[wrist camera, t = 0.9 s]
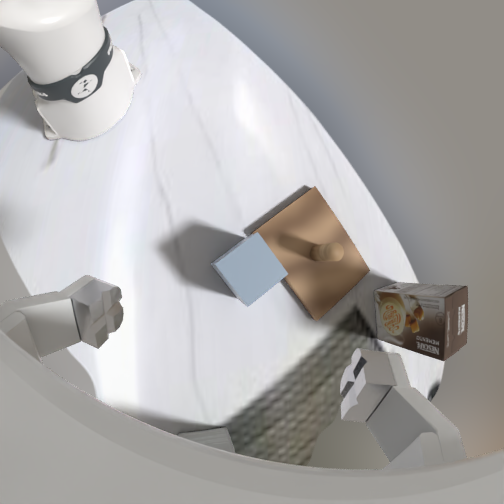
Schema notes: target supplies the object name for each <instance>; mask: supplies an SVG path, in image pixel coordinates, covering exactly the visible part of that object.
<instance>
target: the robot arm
mask: <svg viewBox="0 0 504 504" xmlns="http://www.w3.org/2000/svg"><path fill="white" fill-rule="evenodd" d="M0 47H1V48H3V49H4V50H6V51H7V52H8V53H9V54H10V55H11V56H12V57H13V58H14V59H15V60H16V62H17V63H18V64H19V65H20V66H21V67H22V69H23V70H24V71H25V73H26V74H27V78H28V82H29V83H30V85H31V87H32V89H33V90H32V93H33V96H34V98H35V99H36V100H35V105H36V107H37V110H38V112H39V113H40V115H41V116H42V117H43V124H44V131H45V136H46V137H47V139H49V140H55V139H60V138H66V139H69V140H74V141H83V140H88V139H92V138H95V137H97V136H99V135H101V134H103V133H105V132H106V131H108V130H109V129H111V128H112V127H113V126H114V125H115V124H117V123H118V122H119V121H120V119H121V118H122V117H123V116H124V115H125V113H126V112H127V110H128V108H129V106H130V104H131V101H132V97H133V91H134V88H135V86H136V84H137V83H138V82H139V80H140V78H141V75H142V74H141V72H140V70H139V69H138V68H136V67H135V66H134V65H132V64H131V63H129V62H128V61H127V58H126V55H125V52H124V51H123V50H120V49H119V48H117V47H116V46H114V45H112V40H111V37H110V34H109V33H108V31H107V29H106V28H105V27H104V26H103V24H102V20H101V16H100V13H99V9H98V5H97V1H96V0H0ZM50 127H51V128H50ZM121 298H122V295H121V289H120V288H119V287H118V286H115V285H113V284H110V283H107V282H105V281H102V280H100V279H97V278H95V277H92V276H90V275H85V276H83V277H82V278H80V279H78V280H77V281H75V282H74V283H72V284H71V285H69V286H68V287H66V288H65V289H63V290H62V291H60V292H57V291H55V292H50V293H45V294H39V295H34V296H29V297H23V298H18V299H13V300H8V301H5V302H4V303H2V304H1V305H0V504H504V448H502V449H499V450H495V451H492V452H489V453H486V454H482V455H478V456H474V457H470V458H467V457H466V453H465V449H464V446H463V443H462V439H461V436H460V433H459V429H458V428H457V427H456V426H455V425H454V424H453V423H452V422H450V420H448V419H447V418H446V417H445V416H444V415H443V414H442V413H441V412H440V411H439V410H438V409H437V408H436V407H435V406H434V405H433V404H432V403H431V402H429V401H428V400H427V399H426V398H425V397H424V396H423V395H422V394H421V393H420V392H419V391H418V390H417V389H416V388H412V387H411V386H410V382H409V379H408V376H407V373H406V370H405V367H404V364H403V361H402V358H401V355H400V354H398V353H391V352H379V351H372V350H365V349H358V348H357V349H356V350H355V352H354V353H353V355H352V357H351V358H352V364H351V365H349V366H348V367H346V369H345V371H344V374H343V376H342V380H341V386H340V394H341V395H342V396H343V397H344V400H343V402H342V403H341V416H342V420H347V421H356V422H366V423H365V424H366V426H367V427H368V429H369V430H370V432H371V433H372V435H373V436H374V438H375V439H376V441H377V442H378V444H379V446H380V447H381V448H382V450H383V452H384V453H385V455H386V456H387V458H388V459H389V461H390V463H389V464H388V465H387V466H386V467H384V468H383V469H377V470H376V469H374V470H354V469H330V468H318V467H308V466H299V465H292V464H285V463H279V462H273V461H267V460H262V459H257V458H252V457H248V456H244V455H239V454H235V453H231V452H227V451H224V450H220V449H216V448H213V447H210V446H206V445H203V444H200V443H197V442H194V441H191V440H188V439H185V438H182V437H179V436H177V435H174V434H171V433H169V432H166V431H164V430H161V429H159V428H156V427H154V426H151V425H149V424H147V423H144V422H142V421H140V420H138V419H135V418H133V417H131V416H129V415H127V414H125V413H123V412H121V411H119V410H117V409H115V408H113V407H111V406H109V405H107V404H105V403H103V402H102V401H100V400H98V399H96V398H94V397H93V396H91V395H89V394H88V393H86V392H84V391H82V390H81V389H79V388H78V387H76V386H74V385H73V384H71V383H69V382H68V381H66V380H65V379H63V378H62V377H60V376H59V375H57V374H56V373H54V372H53V371H52V370H50V369H49V368H47V367H46V366H44V365H43V363H42V360H41V357H43V356H46V355H48V354H51V353H54V352H56V351H59V350H61V349H63V348H66V347H69V346H71V345H74V344H76V343H79V342H81V341H83V342H85V343H87V344H89V345H91V346H93V347H95V348H97V349H99V348H100V347H101V345H102V344H103V343H104V342H105V341H106V340H107V339H108V337H109V333H112V332H115V331H116V330H117V329H118V328H119V327H120V325H121V323H122V320H123V307H122V306H121V304H120V302H119V301H120V300H121Z"/></svg>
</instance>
